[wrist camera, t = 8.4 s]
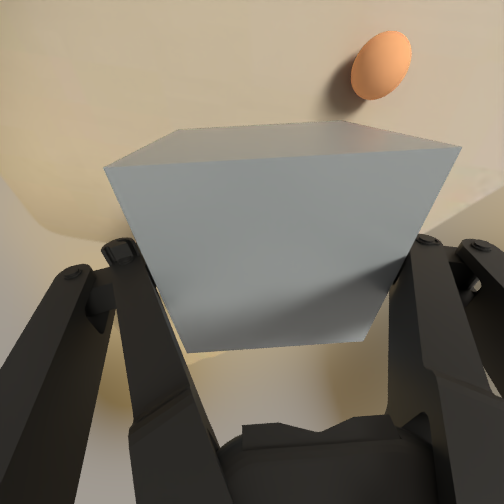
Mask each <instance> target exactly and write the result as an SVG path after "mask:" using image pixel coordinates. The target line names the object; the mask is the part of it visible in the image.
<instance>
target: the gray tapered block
mask: <svg viewBox="0 0 504 504" xmlns="http://www.w3.org/2000/svg"><path fill="white" fill-rule="evenodd" d="M461 149H462V147H460V146H456V145H451V144H446V143H442V142H437V141H433V140H428V139H423V138H419V137H414V136H410V135H405V134H401V133H396V132H391V131H387V130H382V129H378V128H373V127H369V126H364V125H359V124H355V123H350V122H346V121H324V122H305V123H287V124H269V125H251V126H233V127H215V128H197V129H179V130H176V131H174V132H172V133H170V134H168V135H166V136H164V137H162V138H160V139H159V140H157V141H155V142H153V143H151V144H149V145H147V146H145V147H143V148H141V149H139V150H137V151H135V152H133V153H131V154H129V155H127V156H125V157H123V158H121V159H119V160H117V161H115V162H113V163H111V164H109V165H107V166H105V167H103V169H104V171H105V173H106V175H107V177H108V180H109V182H110V184H111V186H112V189H113V191H114V193H115V195H116V197H117V200H118V202H119V204H120V206H121V208H122V211H123V213H124V215H125V217H126V219H127V222H128V224H129V226H130V228H131V230H132V233H133V235H134V237H135V239H136V242H137V244H138V246H139V248H140V250H141V253H142V255H143V257H144V259H145V261H146V264H147V266H148V268H149V270H150V272H151V275H152V277H153V279H154V281H155V284H156V286H157V288H158V290H159V292H160V295H161V297H162V299H163V301H164V303H165V306H166V308H167V310H168V312H169V314H170V317H171V319H172V321H173V323H174V325H175V328H176V330H177V332H178V334H179V337H180V339H181V341H182V343H183V345H184V348H185V350H186V352H187V353H198V352H213V351H227V350H242V349H256V348H270V347H285V346H299V345H314V344H328V343H343V342H355V341H356V342H357V341H364V339H365V337H366V335H367V332H368V331H369V329H370V326H371V325H372V323H373V321H374V319H375V317H376V315H377V313H378V311H379V309H380V307H381V305H382V303H383V301H384V299H385V297H386V296H387V294H388V292H389V290H390V288H391V286H392V284H393V282H394V280H395V278H396V276H397V274H398V272H399V270H400V268H401V266H402V264H403V262H404V260H405V258H406V256H407V254H408V252H409V251H410V249H411V247H412V245H413V243H414V241H415V239H416V237H417V235H418V233H419V231H420V229H421V227H422V225H423V223H424V221H425V219H426V217H427V215H428V213H429V211H430V209H431V207H432V206H433V204H434V202H435V200H436V198H437V196H438V194H439V192H440V190H441V188H442V186H443V184H444V182H445V180H446V178H447V176H448V174H449V172H450V170H451V168H452V166H453V164H454V162H455V160H456V159H457V157H458V155H459V153H460V151H461Z"/></svg>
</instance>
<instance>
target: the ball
mask: <svg viewBox="0 0 504 504" xmlns="http://www.w3.org/2000/svg"><path fill="white" fill-rule="evenodd" d="M410 62H411V46H410V43H409V41H408V39H407V38H406V36H405V35H403V34H402V33H400V32H397V31H386V32H383V33H380V34H378V35H376V36H375V37H373V38H372V39H370V40H369V41H368V42H367V43H366V44H365V45H364V46H363V47H362V49H361V50H360V52H359V53H358V55H357V57H356V59H355V61H354V63H353V66H352V71H351V84H352V87H353V89H354V91H355V93H356V94H357V95H358V96H359V97H361V98H363V99H367V100H375V99H379V98H382V97H384V96H386V95H387V94H389V93H390V92H392V91H393V90H394V89H395V88H396V87H397V86H398V85H399V84H400V82H401V81H402V80H403V78H404V77H405V75H406V73H407V71H408V68H409V65H410Z"/></svg>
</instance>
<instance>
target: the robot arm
mask: <svg viewBox="0 0 504 504" xmlns="http://www.w3.org/2000/svg"><path fill="white" fill-rule="evenodd" d="M101 252H102V254H103V255H104V257H105V259H106V261H107V262H108V264H109V266H110V267H108V268H104V269H100V270H96V271H93V270H92V268H91V267H90V266H89V265H86V264H79V265H75V266H71V267H68V268H66V269H65V270H63V271H62V272H61V273H59V274H58V275H57V276H56V277H55V279H54V280H53V282H52V284H51V286H50V287H49V289H48V291H47V292H46V294H45V296H44V297H43V299H42V301H41V302H40V304H39V305H38V307H37V309H36V311H35V312H34V314H33V315H32V317H31V319H30V321H29V322H28V324H27V325H26V327H25V329H24V330H23V332H22V334H21V336H20V337H19V339H18V340H17V342H16V344H15V346H14V347H13V349H12V351H11V352H10V354H9V356H8V357H7V359H6V361H5V362H4V364H3V366H2V367H1V369H0V504H74V502H75V497H76V493H77V488H78V483H79V478H80V474H81V469H82V465H83V460H84V455H85V451H86V446H87V441H88V436H89V432H90V427H91V423H92V418H93V413H94V408H95V404H96V399H97V395H98V390H99V385H100V380H101V376H102V371H103V367H104V362H105V357H106V353H107V348H108V343H109V338H110V334H111V329H112V325H113V320H114V315H115V311H116V309H117V315H118V322H119V328H120V334H121V340H122V346H123V353H124V359H125V365H126V371H127V378H128V384H129V391H130V396H131V403H132V409H133V417H134V420H133V424H132V426H131V427H130V429H129V435H128V439H129V451H130V459H131V467H132V474H133V482H134V490H135V497H136V504H504V252H503V251H501V250H500V249H499V248H497V247H496V246H494V245H492V244H490V243H489V242H486V241H483V240H476V239H465V240H462V242H461V243H460V245H459V246H458V247H449V246H443V244H442V243H441V242H440V241H439V240H438V239H436V238H434V237H432V236H429V235H425V234H418V235H417V237H416V239H415V241H414V243H413V245H412V247H411V249H410V251H409V252H408V254H407V256H406V258H405V260H404V262H403V264H402V266H401V268H400V270H399V272H398V274H397V276H396V278H395V280H394V282H393V284H392V286H391V288H390V290H389V351H388V404H387V409H386V412H385V415H374V416H361V417H353V418H350V419H348V420H346V421H344V422H342V423H340V424H337V425H335V426H333V427H331V428H329V429H326V430H324V431H322V432H314V431H310V430H306V429H302V428H298V427H293V426H290V425H286V424H282V423H267V424H252V425H242V435H239V436H237V437H235V438H233V439H232V440H230V441H229V442H227V443H226V444H224V445H223V446H222V447H221V448H220V446H219V444H218V441H217V439H216V436H215V434H214V431H213V429H212V427H211V424H210V422H209V420H208V418H207V415H206V413H205V410H204V408H203V405H202V403H201V400H200V397H199V395H198V392H197V390H196V387H195V385H194V382H193V380H192V377H191V375H190V372H189V370H188V367H187V365H186V362H185V360H184V357H183V355H182V352H181V349H180V347H179V344H178V342H177V339H176V337H175V334H174V332H173V329H172V327H171V324H170V322H169V319H168V317H167V314H166V312H165V309H164V307H163V304H162V302H161V299H160V297H159V294H158V292H157V289H156V284H155V281H154V279H153V277H152V275H151V272H150V270H149V268H148V266H147V264H146V261H145V259H144V257H143V255H142V253H141V250H140V248H139V246H138V244H137V242H136V244H135V242H134V240H133V239H132V238H119V239H115V240H113V241H110V242H109V243H107V244H105V245H104V246H103V247H102V249H101ZM479 280H480V282H481V288H480V289H479V290H478V291H476V290H475V289H474V285H475V284H476V283H477V282H478V281H479ZM483 367H484V368H485V370H486V372H487V373H488V375H489V376H490V378H491V380H492V381H493V383H494V385H495V387H496V388H497V390H498V392H499V393H500V395H501V396H502V398H501V397H498V396H496V395H494V394H493V393H492V390H491V389H490V386H489V383H488V380H487V377H486V374H485V371H484V368H483Z"/></svg>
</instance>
